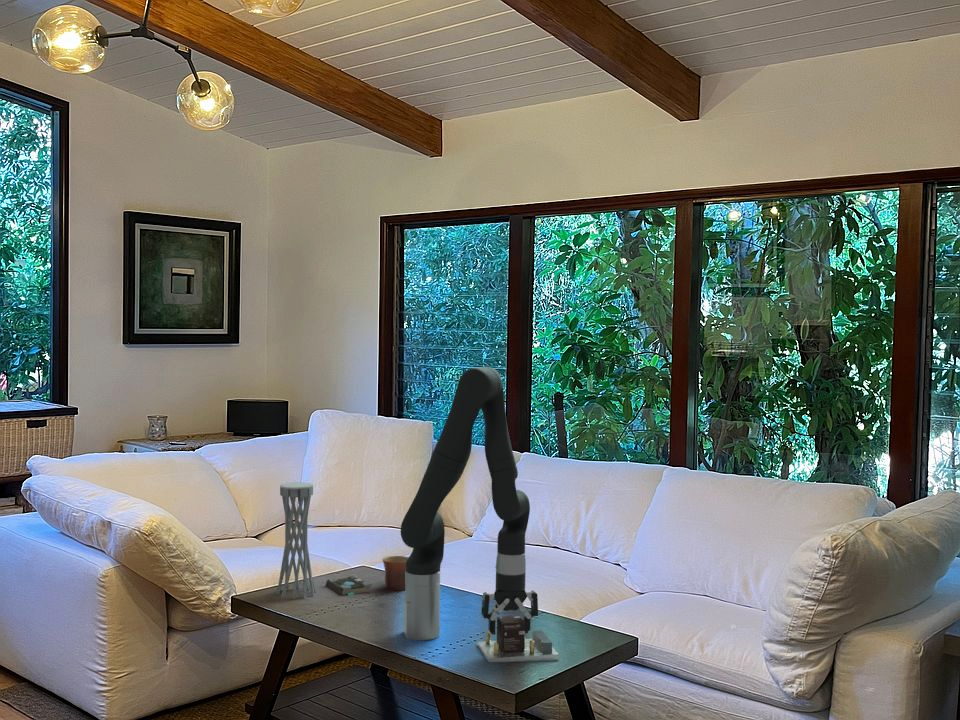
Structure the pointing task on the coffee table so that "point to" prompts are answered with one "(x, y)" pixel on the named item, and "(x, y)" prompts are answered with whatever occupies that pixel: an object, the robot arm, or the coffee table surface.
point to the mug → (394, 572)
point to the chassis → (534, 651)
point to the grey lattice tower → (296, 537)
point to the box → (511, 633)
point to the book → (348, 585)
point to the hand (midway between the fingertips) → (509, 633)
